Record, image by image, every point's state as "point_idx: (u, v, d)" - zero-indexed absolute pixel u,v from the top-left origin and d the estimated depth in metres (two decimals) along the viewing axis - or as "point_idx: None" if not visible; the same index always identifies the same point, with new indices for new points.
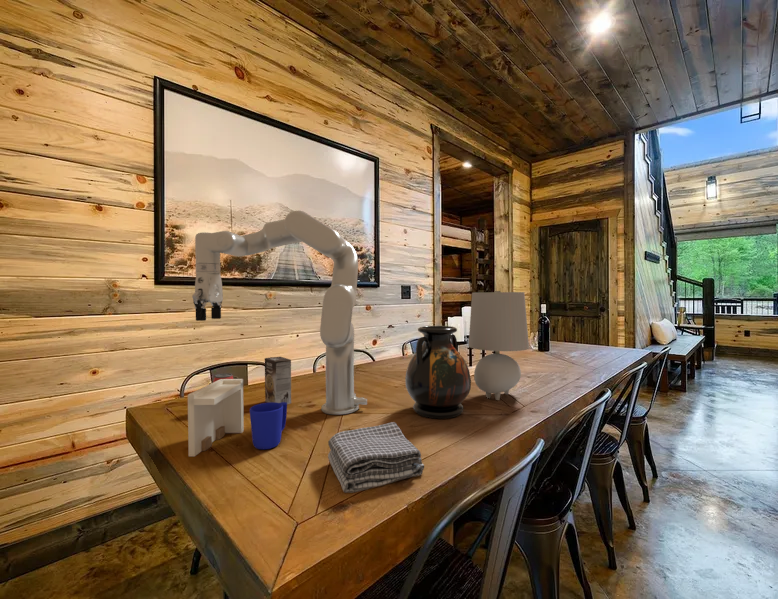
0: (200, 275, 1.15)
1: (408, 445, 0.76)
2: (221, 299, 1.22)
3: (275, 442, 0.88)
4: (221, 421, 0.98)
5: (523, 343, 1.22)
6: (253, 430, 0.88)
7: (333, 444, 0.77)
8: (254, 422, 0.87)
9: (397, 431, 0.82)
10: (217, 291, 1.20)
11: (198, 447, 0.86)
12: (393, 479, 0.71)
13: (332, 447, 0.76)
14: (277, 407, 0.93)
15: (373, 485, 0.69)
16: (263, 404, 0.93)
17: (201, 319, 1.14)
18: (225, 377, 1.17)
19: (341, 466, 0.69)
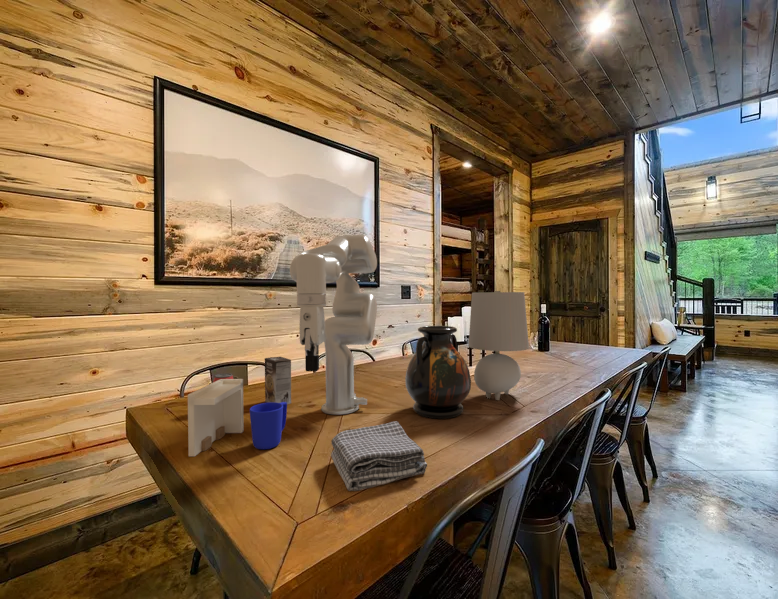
0: (306, 310, 0.87)
1: (411, 444, 0.77)
2: (324, 338, 0.95)
3: (275, 442, 0.88)
4: (221, 421, 0.98)
5: (523, 343, 1.22)
6: (253, 430, 0.88)
7: (336, 443, 0.77)
8: (254, 422, 0.87)
9: (399, 430, 0.83)
10: (322, 329, 0.93)
11: (198, 447, 0.86)
12: (396, 477, 0.72)
13: (335, 446, 0.76)
14: (277, 407, 0.93)
15: (377, 483, 0.70)
16: (263, 404, 0.93)
17: (312, 369, 0.91)
18: (225, 377, 1.17)
19: (345, 465, 0.69)
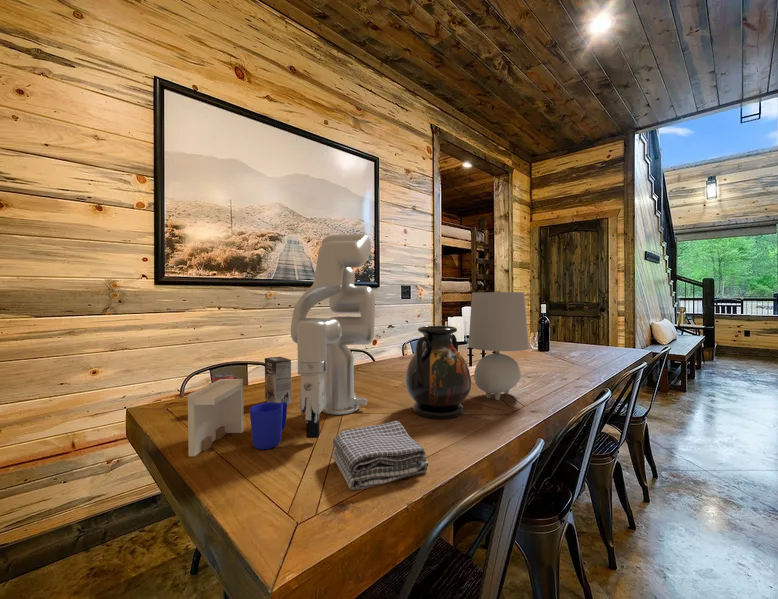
0: (307, 380, 0.87)
1: (413, 443, 0.77)
2: (325, 402, 0.95)
3: (275, 442, 0.88)
4: (221, 421, 0.98)
5: (523, 343, 1.22)
6: (253, 430, 0.88)
7: (338, 442, 0.77)
8: (254, 422, 0.87)
9: (401, 429, 0.83)
10: (323, 395, 0.93)
11: (198, 447, 0.86)
12: (398, 476, 0.72)
13: (337, 445, 0.77)
14: (277, 407, 0.93)
15: (379, 482, 0.70)
16: (263, 404, 0.93)
17: (313, 436, 0.91)
18: (225, 377, 1.17)
19: (347, 464, 0.69)
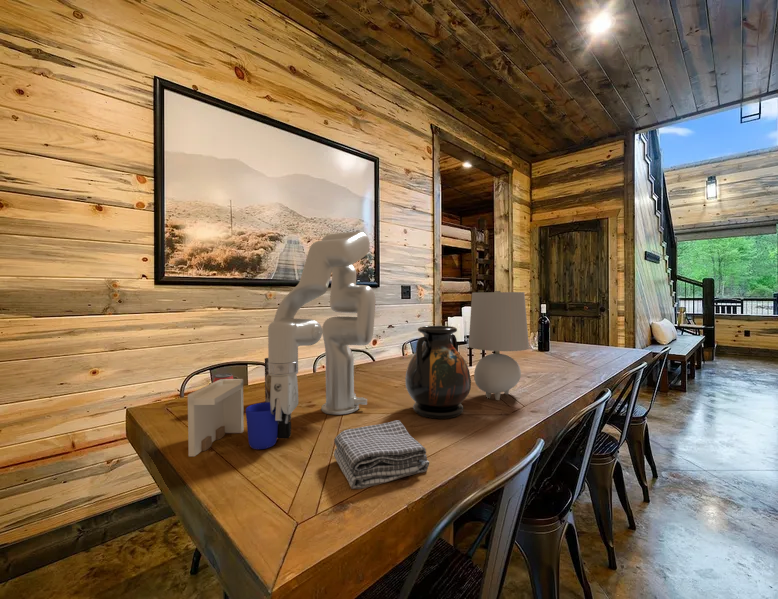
0: (277, 380, 0.87)
1: (413, 442, 0.77)
2: (297, 402, 0.95)
3: (271, 442, 0.88)
4: (221, 421, 0.98)
5: (523, 343, 1.22)
6: (249, 430, 0.88)
7: (339, 442, 0.78)
8: (250, 422, 0.87)
9: (401, 429, 0.84)
10: (294, 395, 0.93)
11: (198, 447, 0.86)
12: (399, 475, 0.72)
13: (338, 445, 0.77)
14: None
15: (380, 481, 0.70)
16: (260, 404, 0.93)
17: (284, 437, 0.91)
18: (225, 377, 1.17)
19: (348, 463, 0.70)
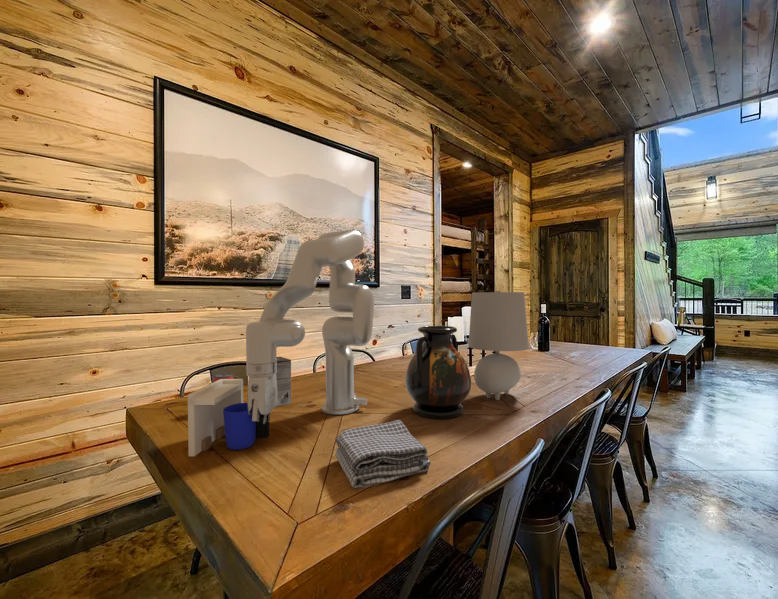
0: (254, 381, 0.88)
1: (415, 442, 0.78)
2: (276, 403, 0.96)
3: (248, 442, 0.88)
4: (221, 421, 0.98)
5: (523, 343, 1.22)
6: (226, 430, 0.87)
7: (341, 441, 0.78)
8: (227, 422, 0.87)
9: (403, 428, 0.84)
10: (273, 396, 0.93)
11: (198, 447, 0.86)
12: (400, 475, 0.73)
13: (340, 444, 0.77)
14: None
15: (381, 481, 0.71)
16: (238, 404, 0.93)
17: (262, 437, 0.92)
18: (225, 377, 1.17)
19: (350, 462, 0.70)
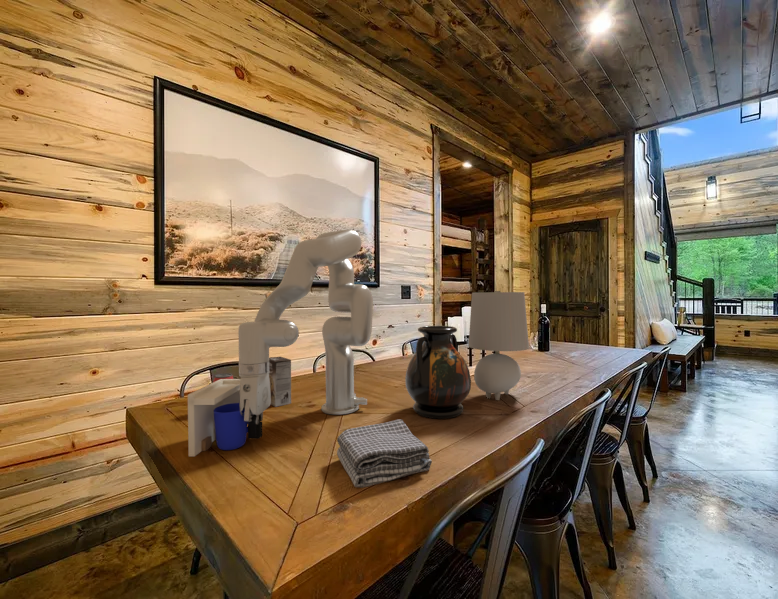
0: (246, 381, 0.88)
1: (416, 441, 0.78)
2: (269, 403, 0.96)
3: (239, 443, 0.88)
4: None
5: (523, 343, 1.22)
6: (216, 431, 0.87)
7: (342, 441, 0.78)
8: (217, 423, 0.87)
9: (404, 428, 0.84)
10: (265, 396, 0.93)
11: (198, 447, 0.86)
12: (402, 474, 0.73)
13: (341, 443, 0.78)
14: None
15: (383, 480, 0.71)
16: (229, 405, 0.93)
17: (255, 437, 0.92)
18: (225, 377, 1.17)
19: (352, 461, 0.70)
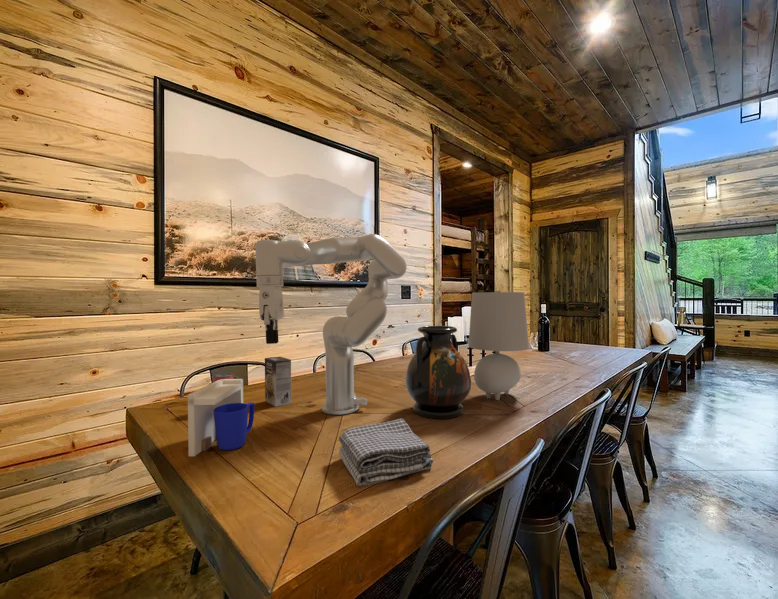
0: (265, 289, 0.99)
1: (417, 440, 0.78)
2: (283, 315, 1.08)
3: (239, 443, 0.88)
4: None
5: (523, 343, 1.22)
6: (216, 431, 0.87)
7: (344, 440, 0.79)
8: (217, 423, 0.87)
9: (405, 427, 0.85)
10: (280, 306, 1.05)
11: (198, 447, 0.86)
12: (404, 473, 0.74)
13: (343, 443, 0.78)
14: (243, 408, 0.93)
15: (385, 478, 0.72)
16: (229, 405, 0.93)
17: (272, 342, 1.04)
18: (225, 377, 1.17)
19: (354, 460, 0.71)
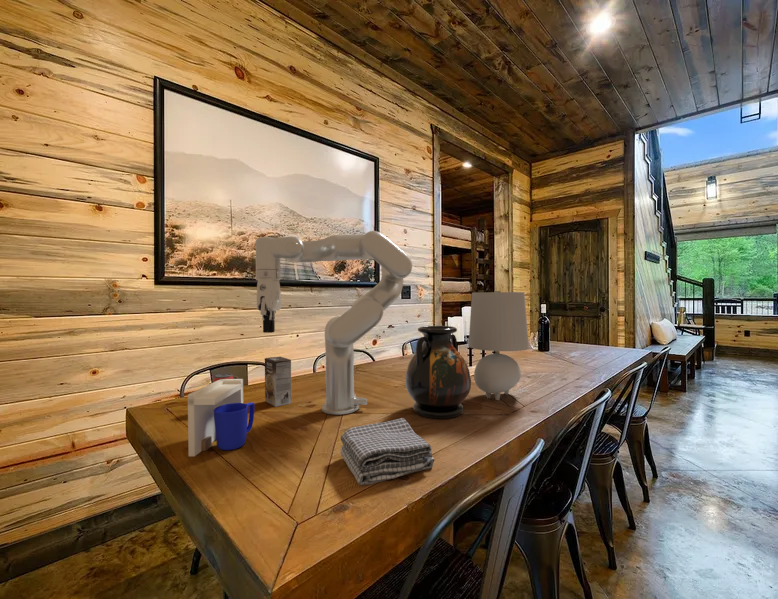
0: (262, 282, 1.08)
1: (419, 439, 0.79)
2: (280, 307, 1.16)
3: (239, 443, 0.88)
4: None
5: (523, 343, 1.22)
6: (216, 431, 0.87)
7: (346, 439, 0.79)
8: (217, 423, 0.87)
9: (406, 426, 0.85)
10: (277, 298, 1.14)
11: (198, 447, 0.86)
12: (405, 472, 0.74)
13: (345, 442, 0.79)
14: (243, 408, 0.93)
15: (386, 478, 0.72)
16: (229, 405, 0.93)
17: (269, 331, 1.12)
18: (225, 377, 1.17)
19: (356, 460, 0.71)
